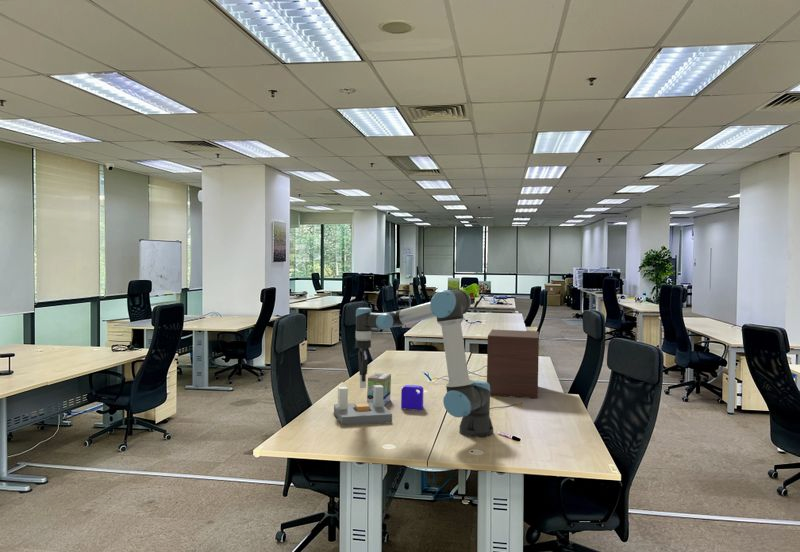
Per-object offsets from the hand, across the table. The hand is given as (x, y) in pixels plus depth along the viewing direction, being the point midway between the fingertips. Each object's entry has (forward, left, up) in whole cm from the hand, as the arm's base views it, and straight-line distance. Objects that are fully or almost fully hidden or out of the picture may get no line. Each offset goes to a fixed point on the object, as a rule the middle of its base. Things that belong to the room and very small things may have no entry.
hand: (362, 387), depth 259 cm
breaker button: (0, 0, -14) cm, 14 cm away
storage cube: (+38, -102, -15) cm, 110 cm away
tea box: (+27, -15, -15) cm, 34 cm away
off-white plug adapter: (+4, +9, -11) cm, 15 cm away
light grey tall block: (+4, -9, -11) cm, 14 cm away
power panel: (0, 0, -15) cm, 15 cm away
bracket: (+17, -32, -15) cm, 39 cm away
